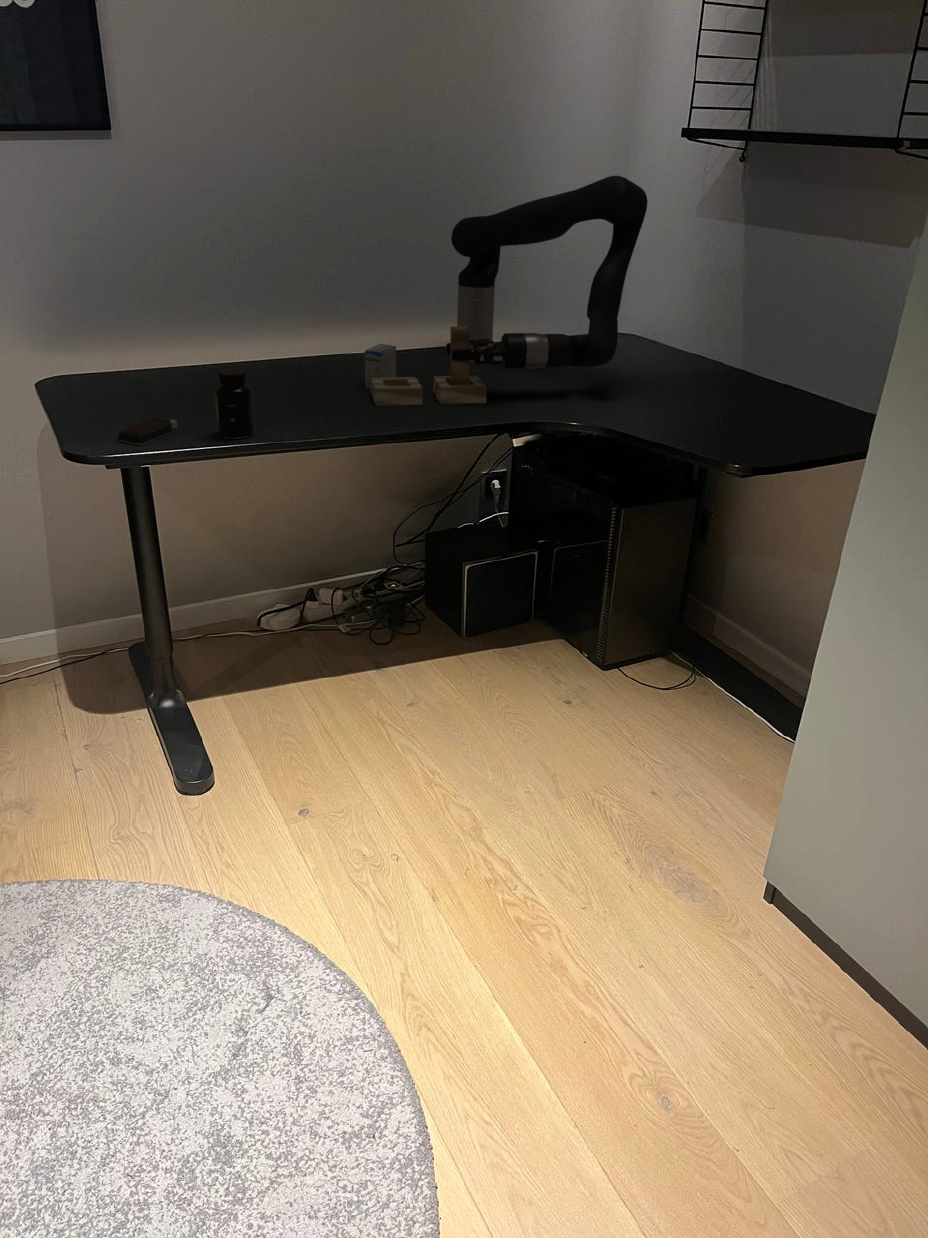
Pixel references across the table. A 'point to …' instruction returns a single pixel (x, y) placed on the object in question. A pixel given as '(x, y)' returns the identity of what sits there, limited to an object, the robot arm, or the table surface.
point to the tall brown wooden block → (459, 368)
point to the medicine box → (380, 363)
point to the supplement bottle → (234, 405)
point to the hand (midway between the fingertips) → (449, 351)
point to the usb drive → (147, 430)
